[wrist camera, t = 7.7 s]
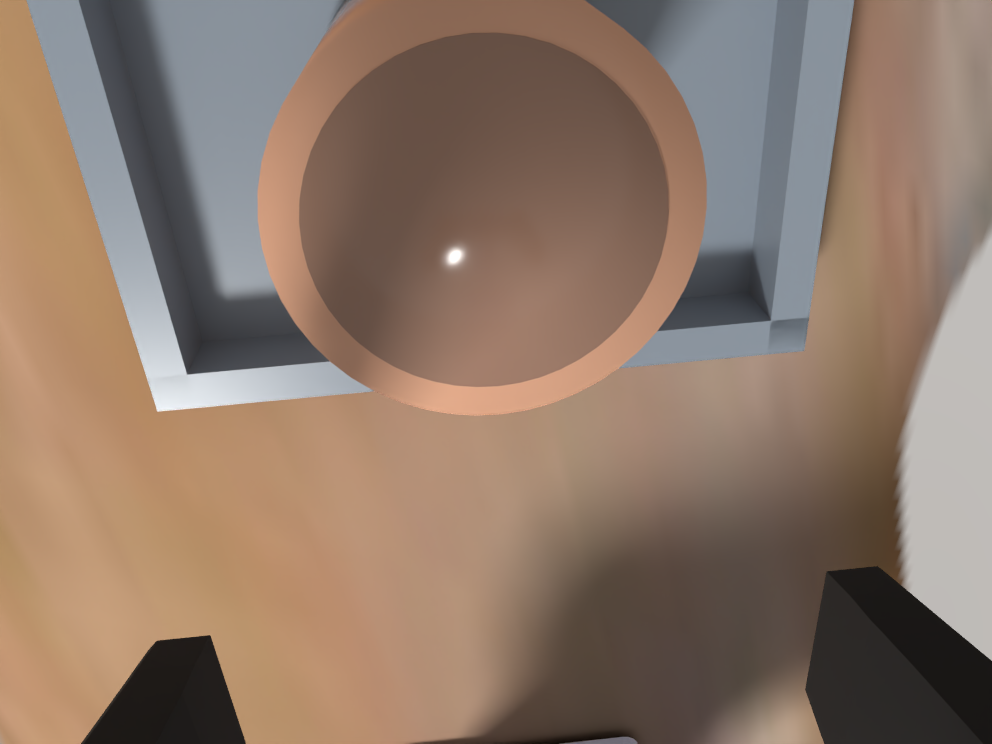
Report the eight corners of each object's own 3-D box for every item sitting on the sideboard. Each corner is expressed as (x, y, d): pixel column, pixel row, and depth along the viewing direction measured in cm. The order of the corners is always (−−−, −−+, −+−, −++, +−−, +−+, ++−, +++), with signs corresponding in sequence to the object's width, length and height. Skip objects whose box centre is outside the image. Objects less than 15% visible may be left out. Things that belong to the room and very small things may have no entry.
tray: (770, 309, 20) (804, 350, 18) (180, 363, 19) (157, 411, 17) (835, -254, 14) (892, -272, 12) (17, -199, 14) (-41, -211, 12)
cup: (606, 231, 18) (695, 397, 12) (339, 256, 17) (301, 436, 12) (607, -69, 15) (724, -37, 9) (288, -44, 15) (207, 5, 9)
